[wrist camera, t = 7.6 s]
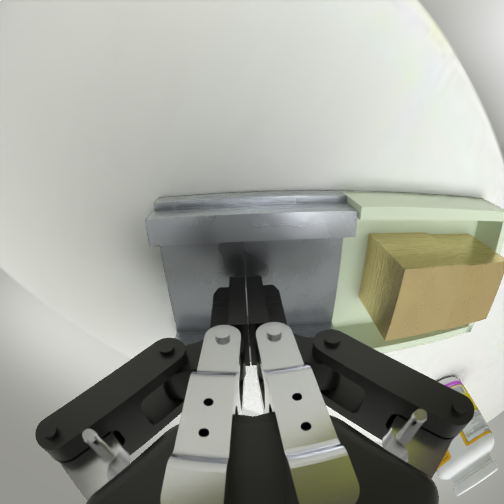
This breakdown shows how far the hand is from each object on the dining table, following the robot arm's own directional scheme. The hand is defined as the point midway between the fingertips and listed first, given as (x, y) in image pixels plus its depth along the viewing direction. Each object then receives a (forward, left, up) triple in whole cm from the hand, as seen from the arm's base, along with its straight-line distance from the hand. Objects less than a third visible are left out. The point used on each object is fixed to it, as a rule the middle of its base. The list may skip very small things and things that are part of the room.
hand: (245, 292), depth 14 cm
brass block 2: (+13, 0, -2) cm, 13 cm away
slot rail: (0, 0, -2) cm, 2 cm away
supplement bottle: (+20, -17, -2) cm, 26 cm away
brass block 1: (+9, 0, -2) cm, 9 cm away
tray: (+10, 0, -2) cm, 11 cm away
